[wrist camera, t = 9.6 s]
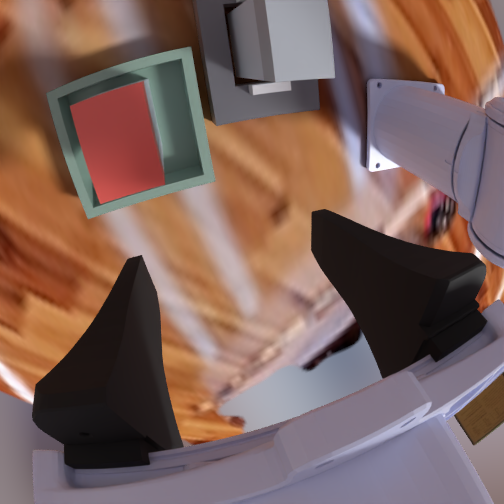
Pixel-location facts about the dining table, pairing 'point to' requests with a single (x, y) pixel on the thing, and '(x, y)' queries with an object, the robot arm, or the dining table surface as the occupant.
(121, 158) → the block
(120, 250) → the dining table surface
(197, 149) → the tray
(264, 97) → the fuse holder
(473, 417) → the food packaging
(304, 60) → the block
